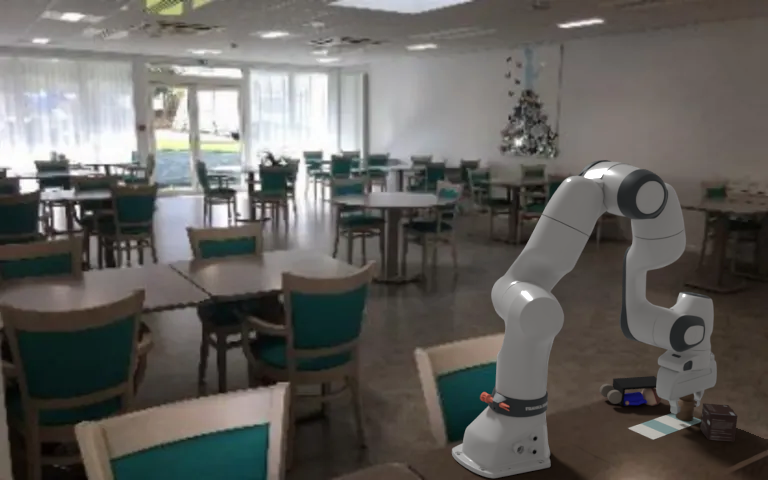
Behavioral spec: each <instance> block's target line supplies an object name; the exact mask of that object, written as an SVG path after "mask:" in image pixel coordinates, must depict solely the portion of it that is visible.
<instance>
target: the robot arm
mask: <svg viewBox="0 0 768 480" xmlns="http://www.w3.org/2000/svg"><path fill="white" fill-rule="evenodd" d="M606 212H607V213H609V214H612V215H615V216H619V217H625V218H627V219H630V223H631V233H632V235H631V236H632V242H631V243H632V244H631V245H630V246H628V247H627V248H626V250H625V252H624V253H623V254H624V255H623V259H622V271H621V272H622V273H621V274H622V277H621V278H622V281H621V282H622V283H621V284H622V285H621V286H622V287H621V289H622V291H621V308H620V313H619V319H618V322H619V328H620V330H621V333H622V334H623V335H624V337H625V338H626V339H627V340H630V341H634V342H638V343H644V344H647V345H651V346H653V347H657V348H662V349H664V350H666V351H665V352H664V353H663V354H661V355H660V356H659V357H658V358H657V364H658V366H660V367H658V371H657V375H656V378H657V384H656V388H655V389H656V393H657V395H658V397H660V398H661V399H663V400H666V401H668V403H669V405H670V409H669V410H670V411H669V412H671V413H674V414H678V413H680V409H681V407H680V406H678V401H679V398H680V397H683V396H686V395H690V394H693V393H694V400H695V405H694V408H698V407H699V406H701V400H702V398H703V396H704V394H705V390H707V389H710V388H711V389H712V388H714V387H715V385H716V383H717V374H718V373H717V371H718V369H717V368H718V367H717V362H716V360H715V354H714V353H713V352H712V344H711V336H712V333H713V330H714V318H715V317H714V316H715V315H714V314H715V313H714V302H713V299H712V298H711V297H710V296H708V295H706V294H700V293H696V292H690V291H680V292H679V294H678V296H677V298H676V303H675V304H674V305H673V306H672V307H669V308H668V307H664V306H660V305H655V304H653V303H651V302H650V301H649V300H648V299H647V295H646V294H647V293H646V292H647V273H648V271H652V270H657V269H658V270H659V269H663V268H664V267H666V266H669V265H671V264H673V263H675V262H676V261H677V260H679V259H680V257H681V256H682V255H683V254H684V252H685V250H686V246H687V245H686V243H687V236H686V228H685V227H686V226H685V221H684V219H685V218H684V215H683V210H682V206H681V203H680V200H679V196H678V194H677V192H676V190H675V188H674V187H673V186H672V184H669V183H668V182H664V180H663V179H662V177H660V176H659V175H657V174H656V173H655V172H653V171H651V170H649V169H646V168H645V169H644V168H640V167H637V166H634V165H631V164H629V163H626V162H620V161H611V160H607V159H602V160H595V161H592V162H590V163H588V164H586V166H584V167H583V168H582V169H581V171H580V172H579V173H578V174H577V175H572V176H571V175H570V176H568V177H566V178H565V179H564V180H563V181H562V182H561V184H560V185H559V186H558V187H557V189H556V190H555V191H554V193H553V194H552V196H551V198H550V199H549V201H548V202H547V204H546V206H545V208H544V210H543V212H542V213H541V216H540V218H539V220H538V221H537V223H536V225H535V228H534V230H532V231H533V232H532V233H531V235H530V237H529V240H528V241H527V243H526V245H525V246H524V248H523V249H522V251H521V252H520V254H519V255H518V256H517V257H516V258H515V260H514V262H513V263H512V264H511V266H510V267H509V268H508V270H506V273H504V275H503V276H501V277H500V278H499V279H497V280H496V281H495V282H494V284H493V287H492V288H491V295H490V297H491V302H492V306H493V308H494V310H495V312H496V314H497V315H498V317H499V318H501V319H502V320H503V321H504V325H505V328H504V329H505V331H504V336H503V340H502V345H501V347H500V350H498V352H497V355H496V368H495V369H496V372H495V373H496V374H495V386H494V388H492V389H493V390H492V393H491V394H489V393H487V392H486V391H483V392H482V393H481V394H480V395H479V400H480V401H482V402H485V403H486V404H488V406H486V408H484V410H483V411H482V412H481V413H479V415H478V416H477V417H475V419H474V420H473V421H472V422H471V423H470V424H468V426H466V428H465V431H464V434H463V441H462V443H460V444H458V445H456V446H454V447H452V448H451V454H452V455H451V456H452V457H453V458H454V460H455V461H456V462H458V463H459V464H460V465H461V466H462V467H464V468H466V469H467V470H469V471H471V472H472V473H474V474H476V475H478V476H479V475H480V476H482V477H485V478H489V479H498V478H502V477H503V478H504V477H508V476H513V475H517V474H523V473H528V472H532V471H538V470H544V469H549V468H550V467H551V463H552V462H551V459H550V456H551V449H550V447H549V440H548V439H549V437H548V436H549V435H548V426H547V417H546V412H547V410H548V404H549V392H548V391H547V383H548V371H549V370H548V369H549V359H550V354H551V350H552V346H553V343H554V340H555V337H556V336H557V335H558V334H559V333H560V332H561V330H562V328H563V325H564V322H565V314H564V311H563V308H562V306H561V304H560V302H559V300H558V299H557V298H556V296H555V295H554V294H553V293H552V290H553V288H554V287H555V286H557V284H558V282H559V281H560V280H561V279H562V278H563V277H565V275H566V274H568V273H570V272H571V271H573V269H574V268H575V266H576V264H577V262H578V260H579V258H580V256H581V254H582V252H583V251H584V248H585V246H586V244H587V242H588V240H589V238H590V237H591V235H592V232H593V230H594V228H595V225H596V224H597V221H598V219H599V218H600V217H601V216H602V215H603V214H605V213H606Z"/></svg>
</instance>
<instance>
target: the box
mask: <svg viewBox="0 0 768 480" xmlns="http://www.w3.org/2000/svg"><path fill="white" fill-rule="evenodd" d="M701 410H702V411H701V417H700V420H701V422H700V429H699V430H700V431H701V432H702V434H703V435H704V436H705V438H706V439H707V440H712V441H721V442H723V441H724V442H735V439H736V432H737V431H736V430H737V423H738V422H737V421H738V415H737V413H736V412H735V410H733V408H731V406H729V405H727V404H718V403H717V404H713V403H702V408H701Z"/></svg>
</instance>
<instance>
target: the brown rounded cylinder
mask: <svg viewBox="0 0 768 480" xmlns="http://www.w3.org/2000/svg"><path fill="white" fill-rule="evenodd" d="M694 405H695V400H694V393H693V394H690V395H686V396H683V397H680V398H679V401H678V406H680V407H681V409H680V413H678V414H676V418H677V419H679V420H682V421H693V417H694V415H695V407H694Z"/></svg>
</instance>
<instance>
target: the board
mask: <svg viewBox="0 0 768 480" xmlns="http://www.w3.org/2000/svg"><path fill="white" fill-rule="evenodd" d="M696 424H701V418H700V419H699V418H697V417H695V416H693V421H682V420H679V419H677V418H676V414H674V413H668V414H665V415H661V416H659V417H656V418H653V419H650V420H648V421H645V422H641V423H640V424H636V425H633V426H630V427H627V429H629V430H631V431H633V432H635V433H638V434H639V435H642V436H644V437H646V438H648V439H650V440H656V439H660V438H662V437H664V436H666V435H669V434H672V433H675V432H677V431H680V430H683V429H686V428H689V427H691V426H693V425H696Z"/></svg>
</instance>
